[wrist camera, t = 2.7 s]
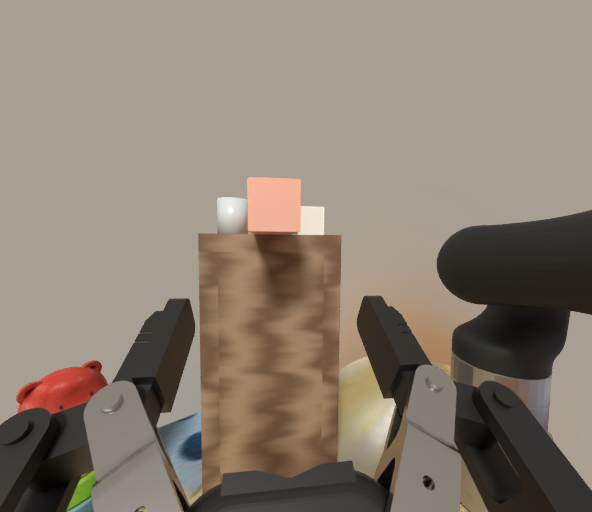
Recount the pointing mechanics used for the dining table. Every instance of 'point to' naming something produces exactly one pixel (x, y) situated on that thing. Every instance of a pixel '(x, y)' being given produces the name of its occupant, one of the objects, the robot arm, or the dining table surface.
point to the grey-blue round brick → (232, 215)
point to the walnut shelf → (268, 353)
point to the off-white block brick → (311, 221)
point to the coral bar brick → (274, 206)
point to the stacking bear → (60, 396)
